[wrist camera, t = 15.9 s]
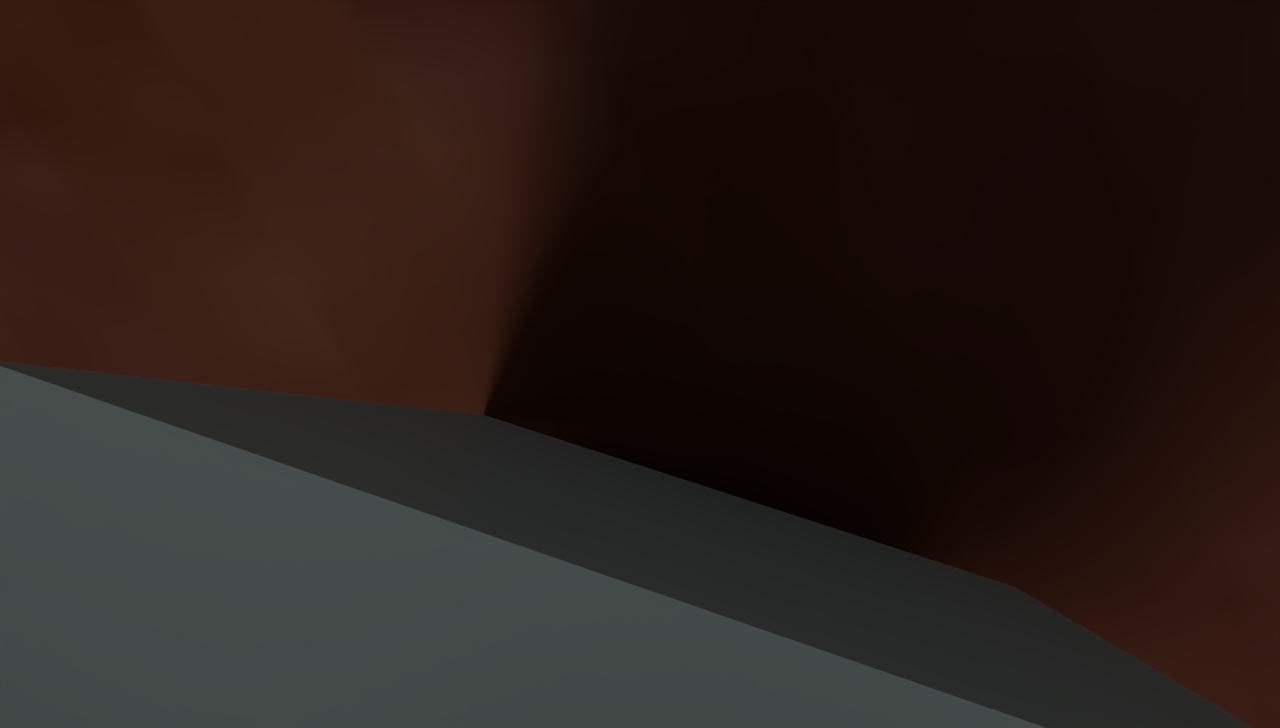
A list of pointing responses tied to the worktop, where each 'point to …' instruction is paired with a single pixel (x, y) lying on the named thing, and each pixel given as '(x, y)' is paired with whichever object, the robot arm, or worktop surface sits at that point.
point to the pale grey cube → (475, 585)
